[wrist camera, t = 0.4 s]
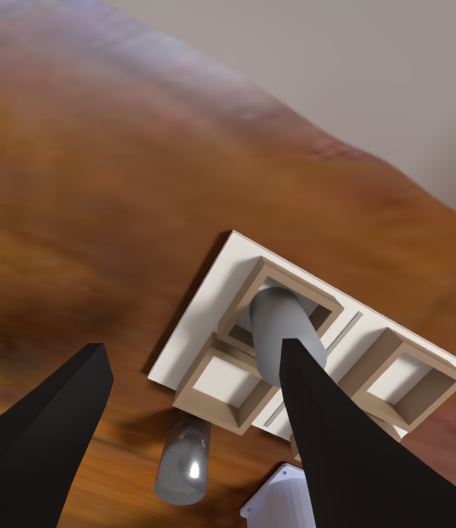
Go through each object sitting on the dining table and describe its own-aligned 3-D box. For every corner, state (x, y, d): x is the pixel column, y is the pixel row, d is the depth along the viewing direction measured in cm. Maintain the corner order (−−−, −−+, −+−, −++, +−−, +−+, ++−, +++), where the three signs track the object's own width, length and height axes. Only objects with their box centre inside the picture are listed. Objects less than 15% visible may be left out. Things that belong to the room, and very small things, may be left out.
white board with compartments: (357, 463, 27) (398, 555, 21) (150, 369, 24) (119, 445, 17) (465, 362, 23) (560, 437, 16) (232, 229, 19) (233, 256, 13)
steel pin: (199, 439, 26) (191, 511, 21) (164, 424, 26) (145, 494, 20) (218, 413, 25) (215, 482, 20) (182, 397, 25) (167, 463, 19)
